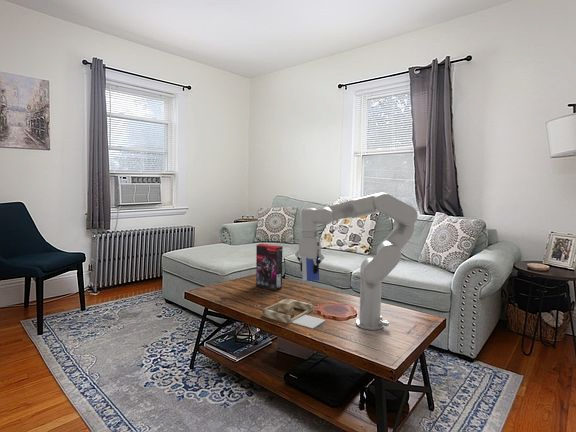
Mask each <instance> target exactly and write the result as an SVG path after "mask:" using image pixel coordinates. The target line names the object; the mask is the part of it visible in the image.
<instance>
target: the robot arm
mask: <svg viewBox="0 0 576 432" xmlns="http://www.w3.org/2000/svg"><path fill="white" fill-rule="evenodd" d="M300 213H301V215H300V216H301V219H300V220H301V222H300V225H301V226H300V227H301V236H300V239H299V243H298V251H297V252H296V253H295V254H294V256H295V258H297V261H298V262H299V263H300V268H299V269H300V272H302V256H306V258H308V259H313V262H314V264H315V265H314V266H313V273H314V274H316V273H317V272H318V271H319V272H320V264H321V263H322V261H324V259H325V256H324V255H323V254H322V250H321V249H322V248H321V241H320V237H318V236H320V233H319V232H318V231H319V230H318V225H326V226H327V225H329V224H331V223H332V222H334V221H338V220H339V221H340V220H343V219H348V218H349V219H350V218H352V219H355V218H361V217H365V216H369V215H373V214H378V213H382V214H383V215H384V216H386V217H388V218H391V219H392V220H394V221H395V225H394V227H393V229H392V230H391V231H390V232H389V234H387V236H386V237H385V238H384V239H383V241H382V242H381V243H379V244H378V246H377V248H376V254H375V256H373V257H367V258H365V259H364V260H363V261H362V262H361V265H360V268H359V269H360V272H359V273H360V289H359V290H360V293H359V318H357V319H356V321H355V325H356V326H357V327H359V328H360V329H363V330H369V331H370V330H371V331H376V330H381V329H382V328H384V327H389V324H390V323H389V321H388V320H386V319H383V315H381V307H382V306H381V305H382V303H381V301H382V281H384V280H385V279H386V278H387V277H388V276H389V275H390V273H391V272H392V271H393V270H394V269H395V268H396V267H397V265H398V264H399V263H400V261H401V259H402V249H403V248H404V247H405V246H406V244H407V243H408V242H409V241H410V240H411V238H412V237H413V234H414V231H415V222H416V221H417V220H418V210H416V209H415V207H414V206H412V205H410V204H409V203H406V202H404V201H403V200H400V199H398V198H396V197H394V196H393V195H391V194H388V193H386V192H379V193H378V192H377V193H374V194H370V195H366V196H363V197H358V198H354V199H351V200H350V199H349V200H346V201H344V202H340V203H337V204H332V205H329V206H324V207H322V208H319V209H316V208H313V207H307V208H306V207H305V208H302V210H301V211H300ZM317 256H319V260H318V261H317V262H316V259H317Z"/></svg>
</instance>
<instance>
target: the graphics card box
mask: <svg viewBox="0 0 576 432" xmlns="http://www.w3.org/2000/svg"><path fill="white" fill-rule="evenodd" d="M283 249H284V247H283V246H282V245H275V244H268V243H259V244H257V245H256V254H255V255H256V259H255V261H256V264H255V265H256V266H255V267H256V268H255V269H256V271H255V272H256V274H255V275H256V276H255V280H256V281H255V286H256V287H259V288H264V289H267V290H273V291H279V290H281V289H283Z"/></svg>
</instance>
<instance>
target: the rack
mask: <svg viewBox="0 0 576 432" xmlns="http://www.w3.org/2000/svg"><path fill="white" fill-rule="evenodd" d="M284 300H291V301H293V308H296V309H298V310H303V312H301V313H299V314H297V315H294V317H293V318H291V316H290V315H286V314H282V313H279V312H277V310H278V303H279V302H280V301H278V302H276V303H274V304H272V305H268V306H267V307H265V308H262V317H263V318H264V317H265V318H267V319H271V320H275V321H279V322H282V323H284V324H285V323H286V324H292V323H291V322H292V321H294V320H296V319H298V318H299V317H301V316H303V315H308V314H309V313H312V312H313V303H307V302H304V301H300V300H295V299H292V298H284Z"/></svg>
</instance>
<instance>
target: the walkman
mask: <svg viewBox="0 0 576 432" xmlns="http://www.w3.org/2000/svg"><path fill="white" fill-rule="evenodd" d="M319 259H320V258H319V256H317V259H316V262H317V261H318V260H319ZM314 265H315V264H314V262H313V259H308V258H306V256H302V282H306V281H307V282H311V281H312V282H314V281H318V282H319V281H320V270H319V271H318V272H317V273H316V274H314V273H313V266H314Z"/></svg>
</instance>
